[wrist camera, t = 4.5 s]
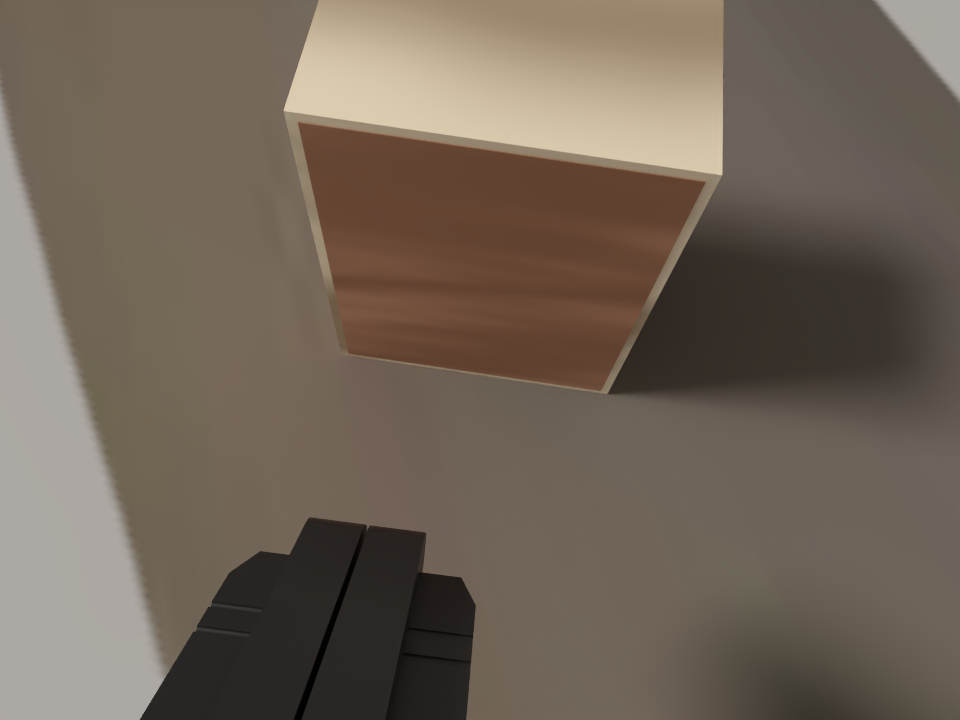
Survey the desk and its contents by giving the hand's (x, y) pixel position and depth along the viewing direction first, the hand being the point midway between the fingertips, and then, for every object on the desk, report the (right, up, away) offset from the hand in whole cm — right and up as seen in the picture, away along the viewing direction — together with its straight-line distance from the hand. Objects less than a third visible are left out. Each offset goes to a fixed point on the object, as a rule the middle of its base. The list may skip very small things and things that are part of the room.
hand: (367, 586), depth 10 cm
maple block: (+2, +5, +11) cm, 12 cm away
